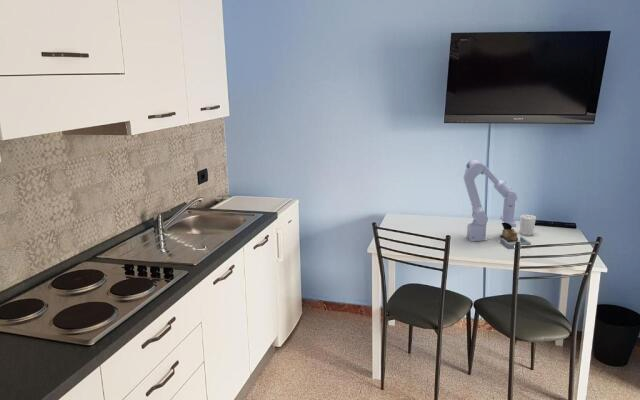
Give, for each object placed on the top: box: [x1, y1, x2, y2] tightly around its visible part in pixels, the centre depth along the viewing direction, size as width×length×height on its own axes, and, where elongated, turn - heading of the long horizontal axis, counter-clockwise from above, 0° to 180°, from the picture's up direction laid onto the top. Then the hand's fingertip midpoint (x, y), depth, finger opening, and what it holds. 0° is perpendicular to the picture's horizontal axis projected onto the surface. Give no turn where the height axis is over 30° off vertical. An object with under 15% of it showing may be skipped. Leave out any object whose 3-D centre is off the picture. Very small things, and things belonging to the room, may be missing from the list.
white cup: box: [519, 214, 537, 237], centre depth 275 cm, size 8×8×10 cm
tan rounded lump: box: [499, 228, 519, 242], centre depth 267 cm, size 8×5×5 cm, turn 93°
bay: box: [499, 236, 532, 250], centre depth 260 cm, size 12×10×2 cm
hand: (507, 235), depth 270 cm, fingers closed, pressing on tan rounded lump
